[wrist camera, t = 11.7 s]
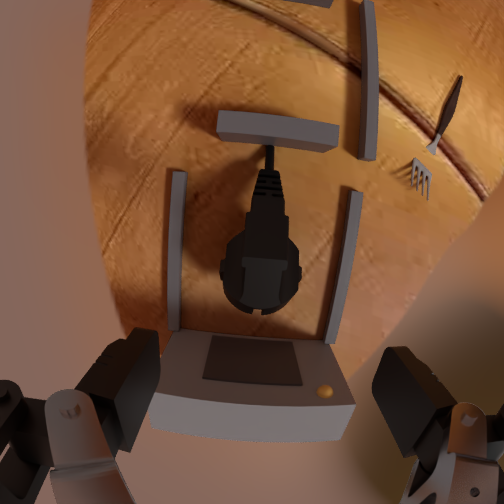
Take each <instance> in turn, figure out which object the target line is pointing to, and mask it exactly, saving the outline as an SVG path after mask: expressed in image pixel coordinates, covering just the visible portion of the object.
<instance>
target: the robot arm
mask: <svg viewBox="0 0 504 504" xmlns="http://www.w3.org/2000/svg"><path fill="white" fill-rule="evenodd" d="M160 373H161V365H160V352H159V337H158V332H157V331H155V330H149V329H143V328H138V327H135V328H134V329H133V331H132V332H131V333H130V335H129V336H128V337H127V339H126V340H125V339H118V340H116V341H114V342H113V343H111V344H109V345H108V346H107V347H106V349H105V350H104V351H103V352H102V354H101V356H99V357H98V359H97V360H96V363H94V364H93V365H92V366H91V368H90V369H89V370H88V372H87V373H86V374H85V375H84V377H83V378H82V379H81V381H80V382H79V383H78V385H77V386H76V387H75V389H66V390H61V391H58V392H56V393H54V394H52V395H51V396H50V397H49V398H48V399H47V400H39V399H33V398H26V397H24V396H23V394H22V392H21V390H20V387H19V386H18V385H17V384H16V383H14V382H12V381H10V380H0V455H1V454H2V452H3V450H4V449H5V447H6V445H7V444H9V445H10V447H9V449H8V450H7V452H6V454H5V456H4V457H3V459H2V460H1V462H0V504H34V503H35V500H36V498H37V495H38V494H39V491H40V489H41V487H42V485H43V482H44V480H45V478H46V476H47V474H48V472H49V469H50V467H55V469H54V470H51V471H50V480H51V485H52V488H53V492H54V495H55V499H56V502H57V504H136V502H135V500H134V498H133V496H132V494H131V492H130V490H129V488H128V487H127V485H126V483H125V480H124V478H123V476H122V474H121V472H120V470H119V468H118V465H117V463H116V461H115V457H116V454H117V452H118V450H122V451H126V452H131V449H132V447H133V444H134V442H135V439H136V437H137V434H138V432H139V429H140V427H141V424H142V422H143V419H144V417H145V414H146V412H147V410H148V407H149V405H150V402H151V400H152V398H153V395H154V393H155V391H156V388H157V386H158V383H159V380H160ZM433 374H434V373H433V372H432V371H431V369H430V368H429V367H428V366H427V365H426V364H424V363H423V362H422V361H420V360H419V359H417V358H416V357H415V355H414V354H413V353H412V352H411V351H410V349H409V348H407V347H406V346H398V347H387V348H386V349H385V351H384V353H383V356H382V358H381V361H380V363H379V366H378V369H377V371H376V374H375V376H374V379H373V382H372V394H373V396H374V398H375V400H376V402H377V404H378V406H379V408H380V410H381V412H382V414H383V416H384V418H385V420H386V422H387V424H388V426H389V428H390V430H391V432H392V434H393V436H394V438H395V440H396V443H397V445H398V447H399V449H400V451H401V453H402V455H403V457H404V458H406V457H410V456H413V455H417V456H418V459H417V460H416V462H415V463H414V465H413V469H412V472H411V475H410V478H409V481H408V483H407V486H406V489H405V491H404V494H403V497H402V499H401V502H400V504H504V472H503V470H502V469H501V467H500V465H499V464H498V462H497V461H498V459H499V458H500V457H501V456H502V455H503V454H504V404H503V405H502V407H501V408H500V410H499V411H498V413H497V414H496V415H485V414H484V413H483V411H482V410H481V409H480V408H478V407H477V406H475V405H473V404H470V403H459V404H458V403H457V401H456V400H455V399H454V398H453V397H452V395H451V394H450V393H449V391H448V390H447V389H446V388H445V386H444V385H443V384H442V383H441V382H439V379H438V378H437V377H436V375H433Z"/></svg>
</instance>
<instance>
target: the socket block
mask: <svg viewBox="0 0 504 504" xmlns="http://www.w3.org/2000/svg"><path fill="white" fill-rule="evenodd" d="M187 175H188V172H174V171H173V177H172V189H171V203H170V219H169V240H168V281H167V302H168V330H171V331H174V332H173V334H172V336H171V338H170V340H169V342H168V344H167V346H166V348H165V350H164V352H163V354H162V356H161V358H160V365H161V373H160V380H159V383H158V386H157V388H156V391H155V393H154V395H153V398H152V400H151V402H150V405H149V407H148V411H149V417H150V422H151V427H152V428H155V429H160V430H165V431H170V432H175V433H181V434H187V435H193V436H200V437H208V438H216V439H227V440H237V441H253V442H316V441H330V440H331V441H332V440H340V439H341V437H342V435H343V433H344V430H345V428H346V426H347V424H348V422H349V420H350V418H351V415H352V413H353V411H354V408H355V406H356V403H355V400H354V398H353V396H352V394H351V392H350V389H349V387H348V385H347V382H346V380H345V378H344V376H343V373H342V371H341V369H340V367H339V365H338V362H337V360H336V358H335V356H334V354H333V352H332V349H331V347H330V345H329V344H335V341H336V337H337V333H338V329H339V325H340V321H341V317H342V313H343V308H344V304H345V299H346V295H347V290H348V285H349V280H350V275H351V270H352V265H353V259H354V254H355V248H356V242H357V236H358V229H359V222H360V215H361V208H362V200H363V192H358V191H351V190H349V193H348V201H347V209H346V217H345V224H344V231H343V237H342V244H341V250H340V256H339V262H338V267H337V273H336V278H335V284H334V289H333V294H332V299H331V304H330V308H329V313H328V318H327V322H326V327H325V331H324V335H323V340H301V339H282V338H267V337H254V336H242V335H232V334H222V333H213V332H204V331H196V330H189V329H181V272H182V246H183V227H184V212H185V198H186V186H187Z"/></svg>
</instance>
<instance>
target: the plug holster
mask: <svg viewBox="0 0 504 504" xmlns="http://www.w3.org/2000/svg"><path fill="white" fill-rule="evenodd" d="M285 1H292V2H299V3H305V4H310V5H316V6H321V7H325V8H330V6H331V4H332V2H333V0H285ZM359 13H360V30H361V67H362V77H361V116H360V134H359V148H358V159H359V160H363V161H368V162H369V161H375V160H376V150H377V134H378V107H379V71H378V46H377V31H376V19H375V10H374V2H372V1H369V0H363V1H362V2H361V4H360V5H359ZM216 132H217V134H218V135H219V137H220V138H221V140H222V141H228V142H241V143H252V144H262V145H273V146H279V147H287V148H294V149H301V150H308V151H315V152H321V153H324V152H326V151H329V150H331V149H333V148H336V147H338V138H339V125H335V124H329V123H324V122H319V121H313V120H307V119H300V118H294V117H286V116H279V115H271V114H261V113H251V112H239V111H224V110H219V113H218V121H217V129H216Z"/></svg>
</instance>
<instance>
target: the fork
mask: <svg viewBox="0 0 504 504" xmlns="http://www.w3.org/2000/svg"><path fill="white" fill-rule="evenodd" d="M462 79H463V76H462V75H461V77H460V78H459V80H458V82H457V84H456V86H455V88H454V90H453V92H452V94H451V96H450V98H449V99H448V101H447V103H446V105H445V108H444V111H443V114H442V117H441V121H440V124H439V128H438V131H437V134H436V137H435V140H434V141H433V142H432V143H431V144H429V145H428V146H426V148H427V149H428V150H429V151H430V152H431V153H432V154H433V155H435V154H436V147H437V143H438V141H439V139H440V137H441V136H442V134H443V132H444V131H445V129H446V127H447V126H448V124H449V122H450V120H451V119H452V117H453V114H454V112H455V108H456V105H457V101H458V96H459V92H460V88H461V84H462ZM416 166H417V169H418V170H417V186H416V191H418V185H419V178H420V173H421V171H422V172H423V177H422V196H423V192H424V184H425V178H426V175H427V177H428V181H427V201H428V198H429V188H430V181H431V177H432V173H431V172H430V171H429V170H428V169H427V168H426V167H425V166H424V165H423V164H422V163H421V162H420V161H419V160H418V159H417V158H414V159H413V164H412V174H411V186H412V185H413V178H414V172H415V167H416Z"/></svg>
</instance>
